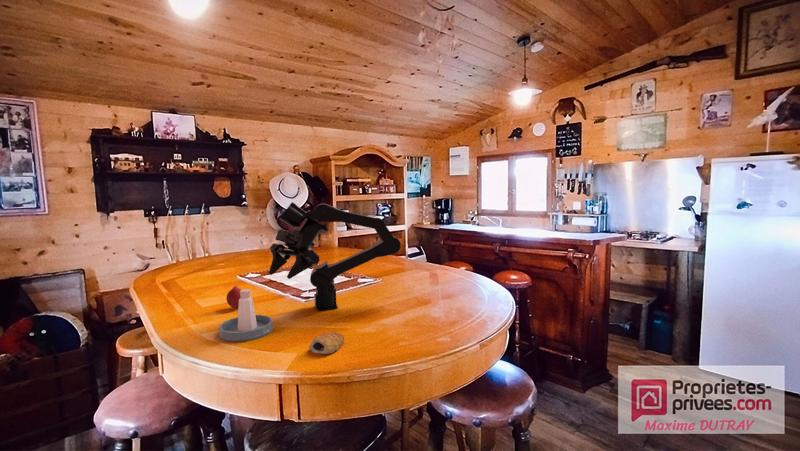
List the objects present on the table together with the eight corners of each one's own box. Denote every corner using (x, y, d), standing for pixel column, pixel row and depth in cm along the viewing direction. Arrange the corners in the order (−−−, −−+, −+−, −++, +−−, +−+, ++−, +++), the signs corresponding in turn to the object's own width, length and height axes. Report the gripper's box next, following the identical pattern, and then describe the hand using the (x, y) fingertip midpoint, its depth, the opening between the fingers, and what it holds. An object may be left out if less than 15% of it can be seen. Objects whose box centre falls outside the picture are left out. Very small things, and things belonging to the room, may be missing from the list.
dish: (271, 320, 114) (270, 312, 114) (275, 336, 101) (274, 327, 101) (220, 327, 109) (220, 319, 109) (218, 345, 96) (217, 336, 96)
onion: (238, 311, 122) (237, 288, 122) (223, 310, 124) (221, 287, 123) (249, 306, 128) (247, 283, 127) (234, 305, 129) (233, 282, 129)
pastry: (330, 338, 100) (329, 324, 100) (351, 343, 97) (351, 328, 97) (307, 352, 92) (306, 337, 91) (329, 358, 89) (328, 342, 88)
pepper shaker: (233, 328, 105) (231, 290, 104) (251, 323, 109) (249, 286, 108) (242, 333, 101) (240, 293, 100) (261, 327, 105) (259, 289, 104)
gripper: (273, 218, 121) (243, 257, 114) (310, 221, 110) (280, 264, 103) (294, 239, 128) (267, 277, 121) (331, 244, 117) (304, 286, 110)
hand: (278, 276), depth 113 cm, fingers open, 9 cm apart
